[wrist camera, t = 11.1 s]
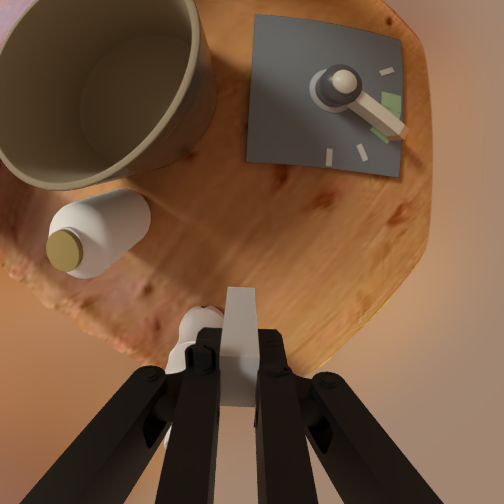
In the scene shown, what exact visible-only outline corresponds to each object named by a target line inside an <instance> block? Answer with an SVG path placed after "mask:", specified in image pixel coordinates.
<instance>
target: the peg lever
mask: <svg viewBox="0 0 504 504" xmlns="http://www.w3.org/2000/svg"><path fill="white" fill-rule="evenodd" d="M315 92H316V95H317V97H318V99H319V100H320V101H321V102H322V103H323V104H325V105H327V106H329V107H341V106H343V105H345V104H346V105H345V106H347V107H348V108H350V109H351V110H352V111H354V112H355V113H356V114H358V115H359V116H360V117H362V118H363V119H364V120H366V121H367V122H368V123H370V124H371V125H372V126H374V127H375V128H376V129H377V130H379V131H380V132H381V133H382V134H384V135H385V136H386V137H387V138H388V139H390V140H391V141H395V140H405V138H406V136H407V135H408V133H409V131H410V129H409V128H408V127H407V126H406V125H405V124H404V123H402V122H401V121H400V120H399V119H398V118H397V117H395V116H394V115H393V114H392V113H391V112H389V111H388V110H387V109H386V108H384V107H383V106H382V105H381V104H379V103H378V102H377V101H376V100H374V99H373V98H372V97H370V96H369V95H368V94H366V93H365V92H364V91H362V80H361V78H360V76H359V74H358V73H357V72H356V71H355V70H354V69H353V68H351V67H349V66H347V65H344V64H336V65H333V66H331V67H329V68H328V69H327V70H326V71H325V72H324V73H323V74H322V75H321V76H320V77H319V79H318V80H317V82H316V84H315Z"/></svg>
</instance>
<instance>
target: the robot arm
mask: <svg viewBox="0 0 504 504" xmlns="http://www.w3.org/2000/svg"><path fill="white" fill-rule="evenodd" d="M185 365H186V369H185V370H183V371H181V372H178V373H172V374H166V373H165V371H164V370H163V369H162V368H160V367H157V366H152V365H150V366H143V367H140V368H138V369H137V370H136V371H135V372H134V373H133V374H132V375H131V376H130V378H128V380H127V381H126V382H125V383H124V384H123V385H122V386H121V387H120V389H119V390H118V391H117V392H116V393H115V394H114V395H113V397H112V398H111V399H110V400H109V401H108V402H107V403H106V404H105V406H104V407H103V408H102V409H101V410H100V411H99V412H98V414H97V415H96V416H95V417H94V418H93V419H92V420H91V422H90V423H89V424H88V425H87V426H86V427H85V429H84V430H83V431H82V432H81V433H80V434H79V435H78V436H77V438H76V439H75V440H74V441H73V442H72V443H71V445H70V446H69V447H68V448H67V449H66V450H65V451H64V453H63V454H62V455H61V456H60V457H59V458H58V459H57V461H56V462H55V463H54V464H53V466H51V468H50V469H49V470H48V471H47V473H45V475H44V476H43V477H42V478H41V479H40V480H39V482H38V483H37V484H36V485H35V486H34V487H33V489H32V490H31V491H30V492H29V493H28V494H27V495H26V497H25V498H24V499H23V500H22V501H21V503H20V504H123V503H124V502H125V500H126V499H127V497H128V495H129V494H130V492H131V491H132V489H133V487H134V486H135V484H136V483H137V481H138V479H139V477H140V476H141V475H142V473H143V471H144V470H145V468H146V466H147V465H148V463H149V461H150V460H151V458H152V457H153V455H154V453H155V452H156V450H157V448H158V447H159V445H160V443H161V442H162V440H163V438H164V437H165V435H166V433H167V432H168V430H169V429H170V427H171V431H170V435H169V440H168V444H167V448H166V453H165V458H164V462H163V467H162V471H161V476H160V481H159V486H158V490H157V495H156V500H155V504H213V501H214V486H215V471H216V457H217V443H218V430H219V417H220V411H219V410H220V406H238V407H255V404H256V410H255V420H254V427H255V433H256V457H257V458H256V460H257V484H258V485H257V486H258V504H318V499H317V494H316V488H315V483H314V477H313V472H312V467H311V462H310V456H309V451H308V446H307V441H306V437H307V439H308V440H309V442H310V444H311V446H312V448H313V449H314V451H315V453H316V455H317V457H318V458H319V460H320V462H321V464H322V466H323V467H324V469H325V471H326V472H327V474H328V476H329V478H330V480H331V481H332V483H333V485H334V487H335V489H336V490H337V492H338V494H339V495H340V497H341V499H342V501H343V502H344V504H444V503H443V502H442V501H441V500H440V499H439V497H438V496H437V495H436V494H435V492H434V491H433V490H432V489H431V488H430V486H429V485H428V484H427V483H426V481H425V480H424V479H423V478H422V476H421V475H420V474H419V473H418V471H417V470H416V469H415V468H414V467H413V465H412V464H411V463H410V462H409V460H408V459H407V458H406V457H405V455H404V454H403V453H402V452H401V450H400V449H399V448H398V447H397V445H396V444H395V443H394V442H393V440H392V439H391V438H390V437H389V435H388V434H387V433H386V432H385V430H384V429H383V428H382V427H381V426H380V424H379V423H378V422H377V421H376V419H375V418H374V417H373V415H372V414H371V413H370V412H369V410H368V409H367V408H366V407H365V406H364V404H363V403H362V402H361V400H360V399H359V398H358V397H357V395H356V394H355V393H354V392H353V390H352V389H351V388H350V387H349V385H348V384H347V383H346V382H345V380H344V379H343V378H342V377H341V376H339V375H338V374H335V373H332V372H320V373H317V374H316V375H314V376H313V378H312V379H308V378H303V377H300V376H297V375H295V374H294V373H293V372H292V370H291V368H290V367H289V366H288V364H287V359H286V354H285V349H284V344H283V339H282V335H281V334H280V333H279V332H278V331H277V330H276V329H258V327H257V314H256V300H255V288H247V287H228V289H227V297H226V305H225V313H224V321H223V328H211V327H203V328H202V329H201V330H200V331H199V332H198V334H197V338H196V342H195V344H192V345H190V346H188V347H187V348H186V349H185ZM171 425H172V426H171ZM305 435H306V437H305Z"/></svg>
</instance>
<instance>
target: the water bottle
mask: <svg viewBox="0 0 504 504" xmlns="http://www.w3.org/2000/svg"><path fill="white" fill-rule="evenodd" d="M223 321H224V315H223V313H222V312H221V311H220V310H219V309H217V308H216V307H214V306H207V307H206V308H202V307H201V306H195V307H193V308H192V309H190V310H189V311H188V312H187V313H186V314H185V315H184V317H183V319H182V321H181V324H180V327H179V340H178V342H177V344H176V346H175V347H174V349H173V350H172V351H171V352H170V354H169V361H168V364H167V367H166V370H165V373H166V374H172V373H178V372H181V371H183V370H185V369H186V365H185V349H186V348H187V347H188V346H190V345H192V344H195V342H196V338H197V334H198V332H199V331H200V330H201V329H202V328H203V327H211V328H223ZM171 426H172V425H171ZM170 431H171V427H170V429H169V430H168V432H167V433H166V437H165V441H164V446H165V448H167V444H168V440H169V435H170Z"/></svg>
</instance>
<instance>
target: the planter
mask: <svg viewBox="0 0 504 504" xmlns="http://www.w3.org/2000/svg"><path fill="white" fill-rule="evenodd" d="M216 101H217V81H216V76H215V72H214V68H213V64H212V59H211V55H210V51H209V47H208V44H207V40H206V37H205V33H204V30H203V27H202V23H201V20H200V17H199V14H198V10H197V7H196V5H195V2H194V0H35V1H34V2H33V3H32V4H31V5H30V6H29V7H28V8H27V9H26V10H25V11H24V13H23V14H22V15H21V16H20V18H19V19H18V20H17V21H16V23H15V24H14V26H13V27H12V29H11V30H10V32H9V33H8V35H7V37H6V39H5V40H4V42H3V44H2V46H1V48H0V158H1V160H2V161H3V163H4V164H5V165H6V167H7V168H8V169H9V170H10V171H11V172H12V173H13V174H14V175H15V176H17V177H18V178H19V179H21V180H22V181H24V182H26V183H27V184H29V185H32V186H34V187H37V188H41V189H45V190H51V191H69V190H76V189H80V188H85V187H89V186H93V185H97V184H101V183H105V182H109V181H113V180H117V179H121V178H125V177H129V176H132V175H136V174H140V173H143V172H147V171H151V170H156V169H159V168H162V167H164V166H167V165H169V164H171V163H173V162H174V161H176V160H178V159H179V158H181V157H182V156H184V155H185V154H186V153H187V152H188V151H190V150H191V149H192V148H193V147H194V146H195V145H196V143H197V142H198V141H199V140H200V139H201V137H202V136H203V134H204V133H205V131H206V129H207V128H208V126H209V124H210V122H211V119H212V117H213V114H214V111H215V106H216Z"/></svg>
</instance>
